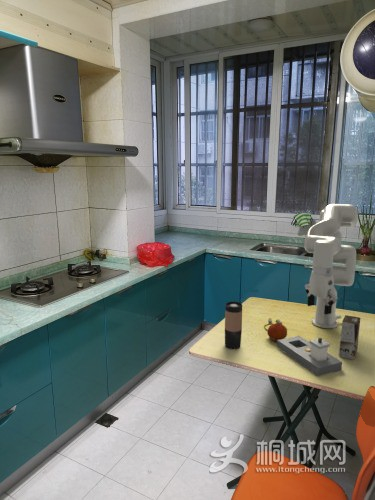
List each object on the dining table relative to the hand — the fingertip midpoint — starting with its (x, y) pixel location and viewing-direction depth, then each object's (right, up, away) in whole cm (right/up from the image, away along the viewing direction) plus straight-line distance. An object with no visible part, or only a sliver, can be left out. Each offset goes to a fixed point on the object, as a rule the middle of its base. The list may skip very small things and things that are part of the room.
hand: (318, 309), depth 151 cm
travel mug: (-34, -19, +15) cm, 42 cm away
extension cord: (-10, -15, +35) cm, 40 cm away
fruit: (-12, -18, +22) cm, 31 cm away
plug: (-1, -23, -2) cm, 23 cm away
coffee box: (+15, -21, +8) cm, 27 cm away
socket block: (-4, -21, +4) cm, 22 cm away
